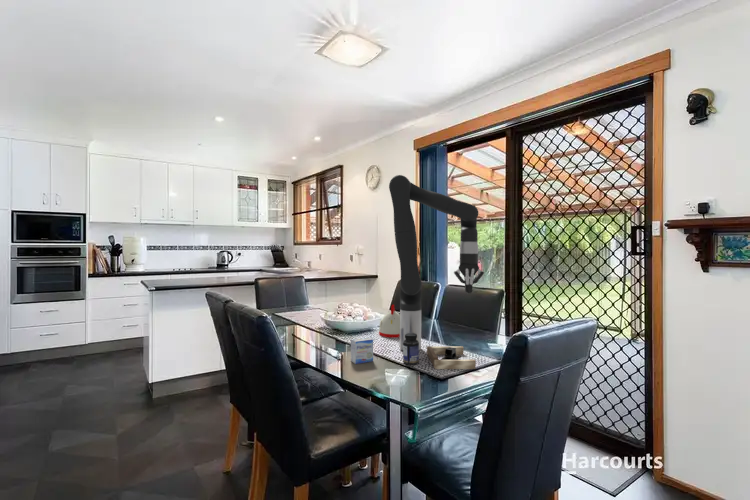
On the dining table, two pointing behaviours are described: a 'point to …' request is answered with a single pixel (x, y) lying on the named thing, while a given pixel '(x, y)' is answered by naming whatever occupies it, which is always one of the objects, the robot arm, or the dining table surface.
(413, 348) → the pill bottle
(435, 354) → the frame
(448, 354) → the black angular block
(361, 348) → the medicine box
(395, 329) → the kitchen timer
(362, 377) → the dining table surface
